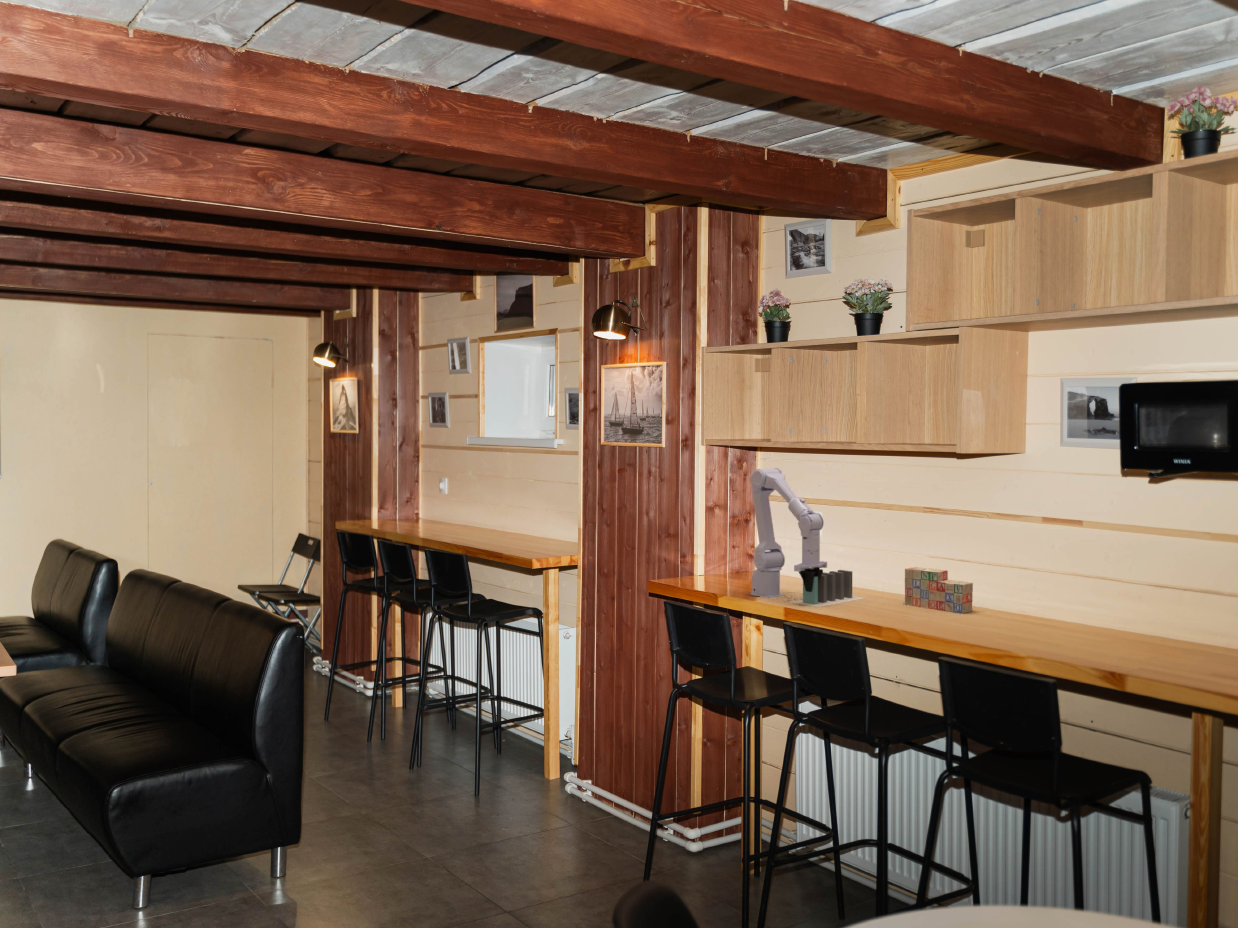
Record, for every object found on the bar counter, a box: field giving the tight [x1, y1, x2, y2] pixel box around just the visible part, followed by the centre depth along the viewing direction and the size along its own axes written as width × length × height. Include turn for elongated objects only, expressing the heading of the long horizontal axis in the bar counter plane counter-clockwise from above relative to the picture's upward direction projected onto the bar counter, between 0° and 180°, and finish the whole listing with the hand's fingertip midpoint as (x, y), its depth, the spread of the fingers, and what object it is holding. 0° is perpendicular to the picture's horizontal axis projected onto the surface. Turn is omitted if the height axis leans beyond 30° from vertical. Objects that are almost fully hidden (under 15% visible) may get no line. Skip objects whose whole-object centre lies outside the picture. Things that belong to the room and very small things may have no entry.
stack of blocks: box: [904, 566, 974, 614], centre depth 343 cm, size 21×6×12 cm, turn 40°
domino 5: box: [837, 569, 853, 598], centre depth 362 cm, size 2×5×9 cm, turn 40°
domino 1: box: [802, 576, 818, 604], centre depth 351 cm, size 2×5×9 cm, turn 39°
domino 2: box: [818, 575, 827, 603], centre depth 354 cm, size 2×5×9 cm, turn 40°
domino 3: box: [822, 571, 836, 601], centre depth 357 cm, size 2×5×9 cm, turn 40°
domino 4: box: [828, 570, 844, 600], centre depth 359 cm, size 2×5×9 cm, turn 40°
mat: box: [790, 595, 865, 608], centre depth 357 cm, size 12×25×1 cm, turn 130°
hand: (810, 591), depth 351 cm, fingers closed on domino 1
